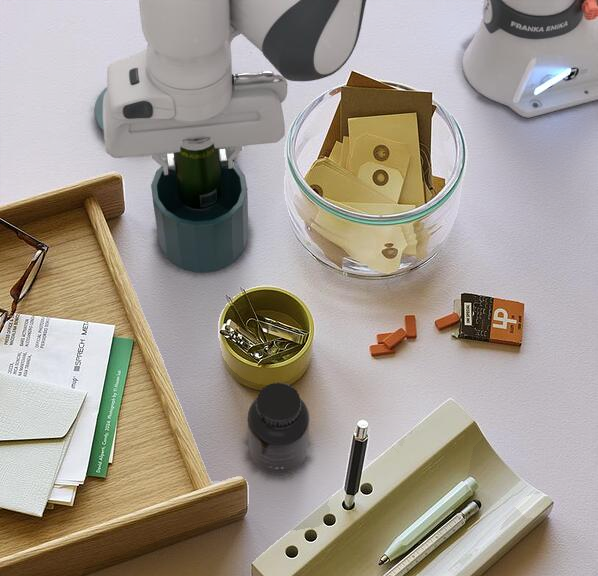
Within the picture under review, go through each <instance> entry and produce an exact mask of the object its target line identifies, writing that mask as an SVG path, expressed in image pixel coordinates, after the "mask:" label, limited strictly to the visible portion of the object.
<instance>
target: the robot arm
mask: <svg viewBox="0 0 598 576" xmlns="http://www.w3.org/2000/svg"><path fill="white" fill-rule="evenodd" d="M366 3H367V0H138V5H139V17H140V24H141V31H142V34H143V37H144V39H145V41H146V42H147V47H146V49H144V50H142V51H140V52H137V53H135V54H133V55H129V56H127V57H124V58H122V59H119V60H116V61H113V62H111V63H109V65H108V66H107V71H106V87H107V91H106V92H105V95H104V99H103V127H104V133H103V139H104V146H105V153H107V155H109V156H110V157H112V158H113V159H122V158H132V157H133V158H135V157H142V156H143V157H144V156H151V158H152V160H153V161H155V162H156V163H157V164H158V165H159V166H160V167H161V166H162V167H163V170H164V175H170V174H176V165H175V161H174V155H173V153H175V152H180V146H181V144H182V143H183V141H182V140H185V139H186V140H190V141H194V139H196V138H199V139H198V140H203V139H205V138H207V137H210V138H211V139H210V140H211V141H212V142H213V143H214V147H215V149H216V148H225V149H220V169H232V168H233V160H234V161H235V159H236V158H237V157H238V155H239V154H240V153H241V152H242V150H243V147H245V146H256V145H257V146H258V145H267V144H276V143H278V142H280V141H281V140H282V139H283V138H284V137H285V134H286V129H285V128H286V127H285V119H284V112H283V107H282V103H283V102H284V101H285V100H286V98H287V96H288V81H290V82H312V81H318V80H321V79H325V78H328V77H330V76H332V75H334V74H336V73H337V72H338V71H339V70H341V69H342V68H343V67H344V66H345V64H346V63H347V62H348V61H349V59H350V57H351V56H352V54H353V52H354V50H355V48H356V46H357V43H358V41H359V36H360V33H361V29H362V24H363V20H364V14H365V9H366ZM239 35H242V36H243V37H244V38H245V39H246V40H248V41H249V42H250V44H252V45H253V46H254V47H255V48H257V49H258V50H259V51H260V52H261V53H262V55H263V57H264V58H265V59H266V60H267V61H268V62H269V63H270V64H271V65H272V66H273V67H274V68H275V70H276V71H277V72H278V73H279V74H275V73H274V71H272V70H263V71H260V72H241V73H233V58H232V48H231V46H232V41H233V40H234V39H235V38H236V37H238V36H239ZM462 69H463V74H464V76H465V78H466V79H467V80H466V81H468V83H469V84H470V85H471V86H472V88H473V89H474V90H475V91H477V92H478V93H479V94H480V95H482V96H483V97H486V98H488V99H490V100H491V101H493V102H497V103H499V104H502V105H505V106H507V107H508V108H510V109H511V110H513V111H514V112H515V113H516V114H517V115H519V116H521V117H523V118H526V119H527V118H534V117H537V116H541V115H546V114H549V113H552V112H556V111H560V110H564V109H567V108H568V109H569V108H571V107H575V106H580V105H583V104H586V103H589V102H593V101H598V0H483V6H482V18H481V19H480V23H479V25H478V28H477V29H476V32H475V34H474V36H473V37H472V40H471V41H470V43H469V45H467V47H466V49H465V50H464V53H463V56H462Z"/></svg>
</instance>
